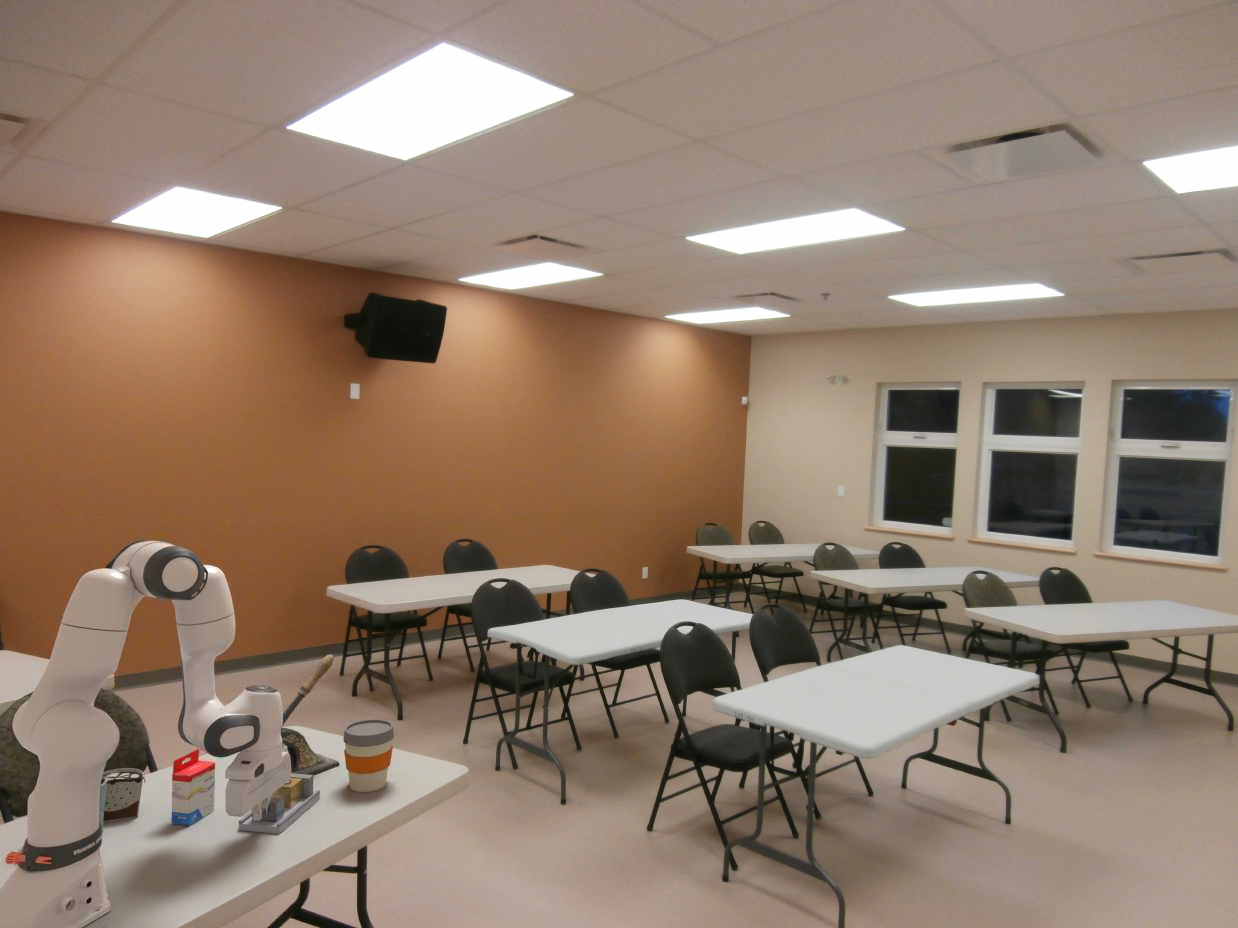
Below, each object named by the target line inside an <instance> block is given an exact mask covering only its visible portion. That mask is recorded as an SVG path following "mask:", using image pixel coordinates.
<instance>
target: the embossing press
mask: <svg viewBox="0 0 1238 928" xmlns="http://www.w3.org/2000/svg"><path fill="white" fill-rule="evenodd" d="M334 659H335V658H334V654H332V653H329V654H327V655H326V656H325V657H323V658H322V659H320V661H319V662H318V664H317V665H316V666H315V668H314V670H313V672H312V673H311V675H310V676H309V677H308V679H306V681H305V682H304V683H303V684H302V685H301V687H300V689H299V691H297V694H296V696H295V697H294V699H293V700H292V702H291V703H290V704H289V705H288V707H286V709H285V710H284V711H283V724H282V727H281V737H282V743H283V744H285V745H286V746H287V752H288V753H289V755H290V760H291V773H293V774H306V775H313V776H314V775H316V774H319V773H322V771H323V772H325V771H328V770H331V769H333V768H336V767H338V766H337V765H339V766H340V762H339V761H338V760H336V759H333V758H330V757H327V756H324V755H323V754H319V753H315V751H313V749H312V748H311V747H310V745H309V743H308V741H307V739H306V738H305V736H304V735H303V734H302V733H301V732H299V731H297V730H294V729H291V728H287V727H283V726H284V724H285V723H286V722H287V720H288V719H289V717H290V716H291V714H292V713H293V712H294V711H295V710H296V708H297V707H298V705H300V703H301V702H302V700H303V699H304V698H305V697H306V696H308V695H309V694H310V693H311V691H313V688H314V687H315V685H316V684H317V683H318V682H319V680H320V679H322V677H323V676H324V675H325V674H326V673H328V671H329V669H330V668H331V667H332V666H333V662H334ZM335 766H336V767H335ZM330 768H331V769H330Z"/></svg>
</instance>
